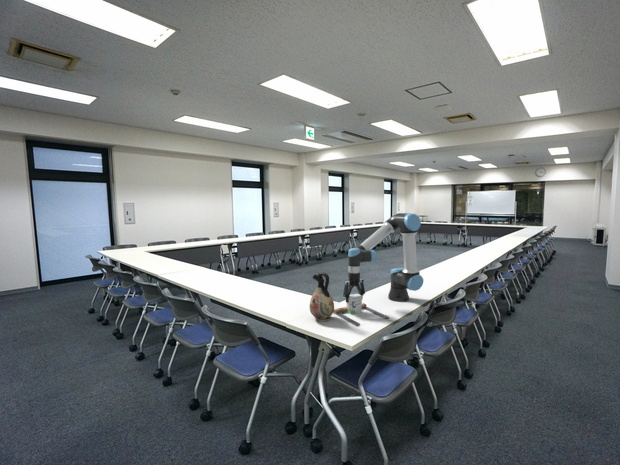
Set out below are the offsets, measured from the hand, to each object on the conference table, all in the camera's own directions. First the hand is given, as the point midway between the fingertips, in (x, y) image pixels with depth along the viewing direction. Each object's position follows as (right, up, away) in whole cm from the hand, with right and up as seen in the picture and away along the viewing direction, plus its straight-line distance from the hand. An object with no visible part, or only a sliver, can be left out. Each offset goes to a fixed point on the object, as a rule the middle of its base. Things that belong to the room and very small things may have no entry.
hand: (354, 305), depth 196 cm
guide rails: (+4, -5, -7) cm, 9 cm away
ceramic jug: (-21, -6, -11) cm, 25 cm away
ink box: (0, -5, 0) cm, 5 cm away
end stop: (-2, -4, +4) cm, 6 cm away
